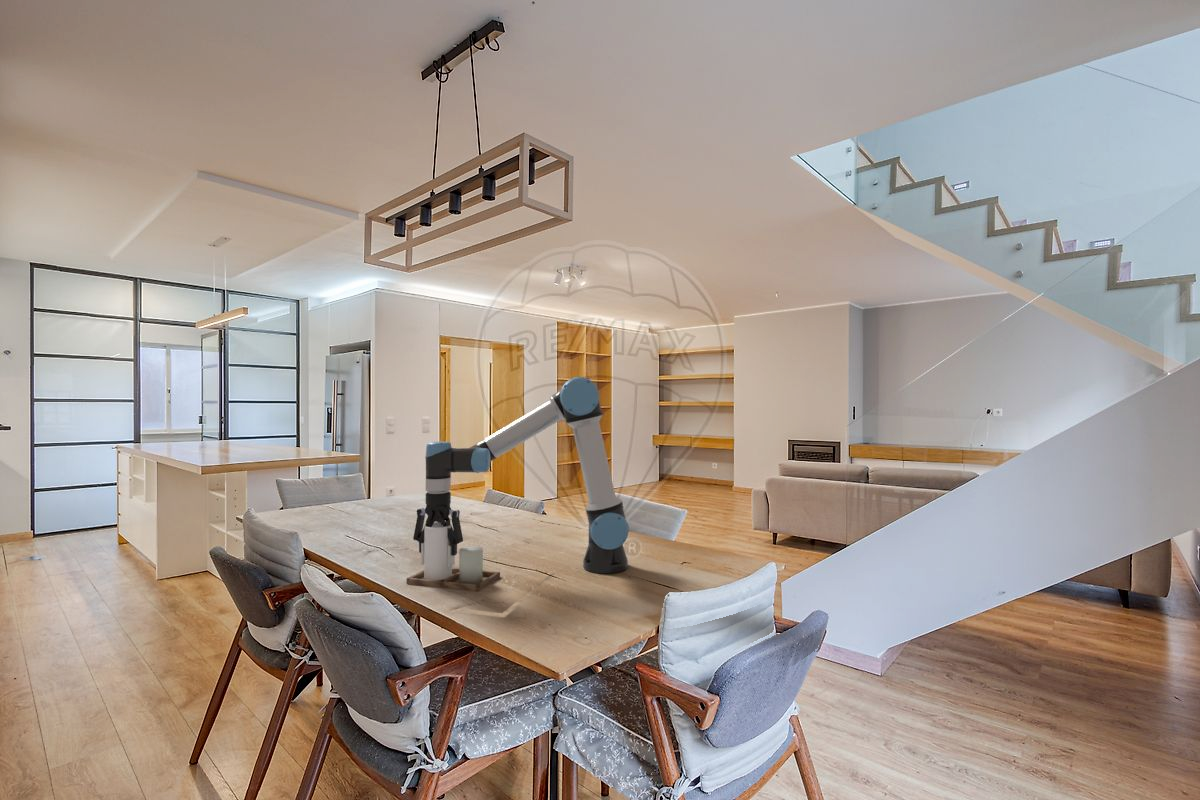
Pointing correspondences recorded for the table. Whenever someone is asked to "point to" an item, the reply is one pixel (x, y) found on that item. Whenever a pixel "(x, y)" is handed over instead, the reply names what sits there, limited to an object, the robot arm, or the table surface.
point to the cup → (436, 552)
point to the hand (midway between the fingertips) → (437, 564)
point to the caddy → (454, 581)
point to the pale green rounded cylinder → (471, 565)
